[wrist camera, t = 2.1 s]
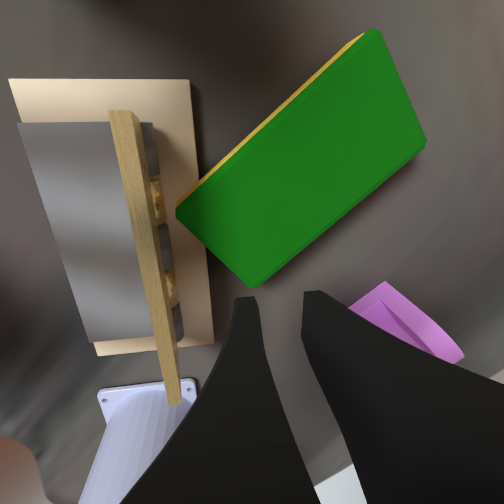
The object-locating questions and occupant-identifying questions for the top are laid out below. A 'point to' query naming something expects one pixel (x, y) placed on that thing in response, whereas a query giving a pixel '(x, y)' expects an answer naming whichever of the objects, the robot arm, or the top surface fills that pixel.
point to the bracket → (406, 322)
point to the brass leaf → (149, 242)
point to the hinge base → (116, 201)
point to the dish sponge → (306, 163)
